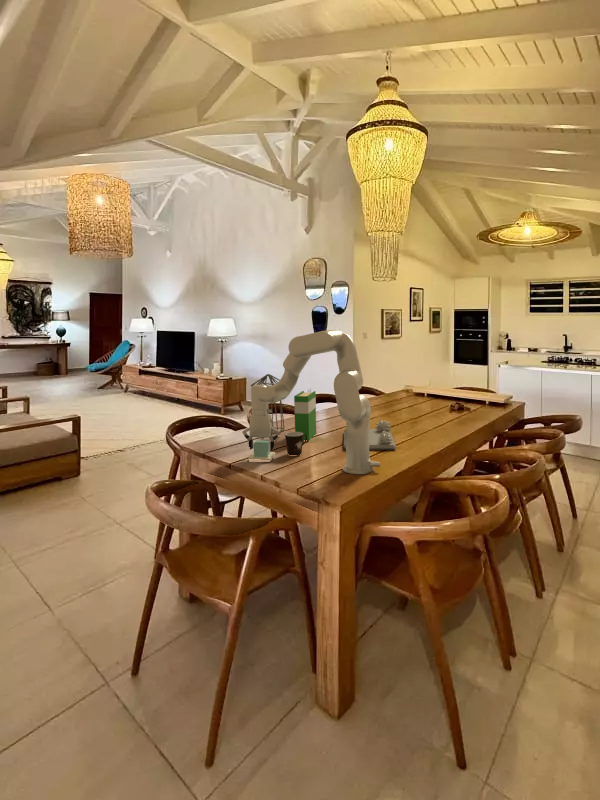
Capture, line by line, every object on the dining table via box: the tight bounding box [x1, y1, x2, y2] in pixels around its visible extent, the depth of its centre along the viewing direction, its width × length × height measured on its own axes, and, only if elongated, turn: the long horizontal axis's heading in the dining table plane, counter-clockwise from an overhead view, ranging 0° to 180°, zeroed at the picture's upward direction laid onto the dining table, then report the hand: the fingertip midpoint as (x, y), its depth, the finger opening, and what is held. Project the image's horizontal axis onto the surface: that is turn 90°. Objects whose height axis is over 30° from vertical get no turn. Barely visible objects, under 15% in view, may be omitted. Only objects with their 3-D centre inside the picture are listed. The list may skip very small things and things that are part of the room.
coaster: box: [248, 451, 276, 460], centre depth 207 cm, size 10×10×2 cm
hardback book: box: [293, 390, 317, 441], centre depth 243 cm, size 18×7×24 cm, turn 166°
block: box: [253, 439, 271, 457], centre depth 207 cm, size 6×6×6 cm
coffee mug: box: [284, 431, 307, 455], centre depth 213 cm, size 12×9×10 cm
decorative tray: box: [343, 418, 397, 451], centre depth 234 cm, size 35×26×10 cm
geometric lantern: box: [250, 373, 285, 435], centre depth 242 cm, size 16×16×35 cm
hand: (261, 449), depth 207 cm, fingers open, 9 cm apart
